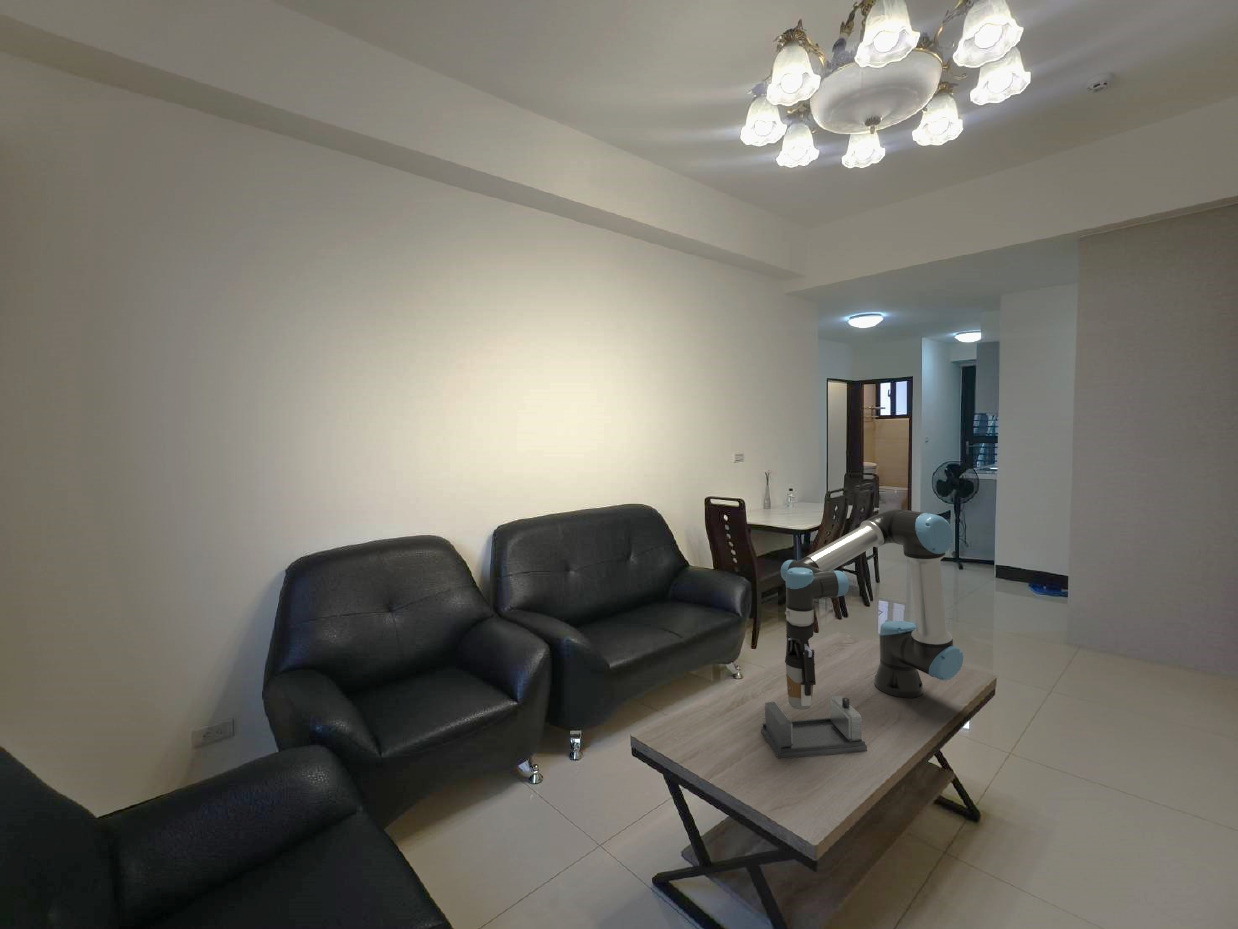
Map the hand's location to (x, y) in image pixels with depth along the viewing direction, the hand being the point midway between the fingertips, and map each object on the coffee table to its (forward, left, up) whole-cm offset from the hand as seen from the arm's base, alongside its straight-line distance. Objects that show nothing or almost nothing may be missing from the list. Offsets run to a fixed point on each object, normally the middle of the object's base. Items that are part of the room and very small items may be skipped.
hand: (800, 697), depth 158 cm
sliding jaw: (-14, 0, -12) cm, 18 cm away
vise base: (-4, 0, -13) cm, 14 cm away
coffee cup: (0, 0, -2) cm, 2 cm away
